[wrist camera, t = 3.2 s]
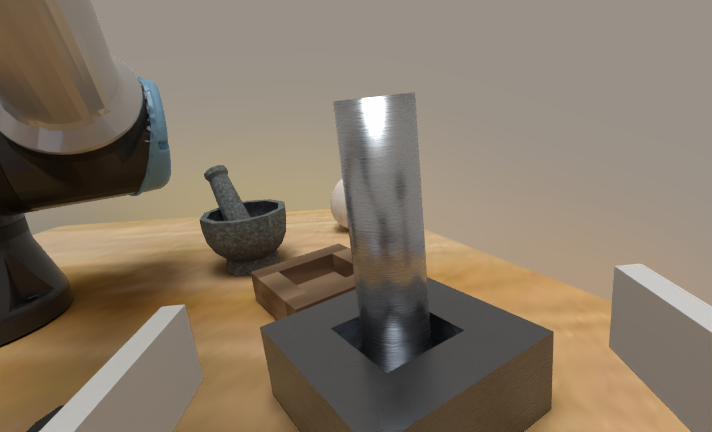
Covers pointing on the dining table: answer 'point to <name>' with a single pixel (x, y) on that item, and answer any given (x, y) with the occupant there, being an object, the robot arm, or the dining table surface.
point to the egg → (339, 205)
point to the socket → (412, 370)
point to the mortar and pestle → (242, 226)
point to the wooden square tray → (304, 281)
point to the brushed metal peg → (385, 225)
